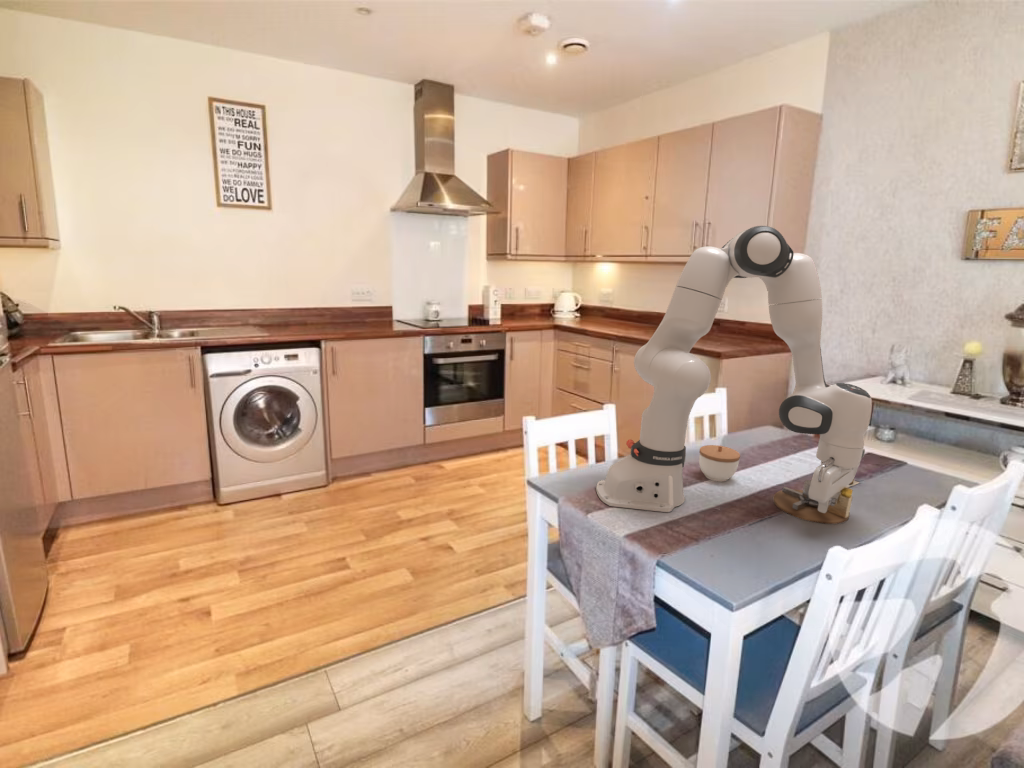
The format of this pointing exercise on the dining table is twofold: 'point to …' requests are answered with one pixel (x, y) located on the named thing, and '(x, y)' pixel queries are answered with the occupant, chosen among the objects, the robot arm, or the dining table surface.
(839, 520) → the foot plate
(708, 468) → the lidded jar
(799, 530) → the dining table surface
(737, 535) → the dining table surface
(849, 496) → the capstan
